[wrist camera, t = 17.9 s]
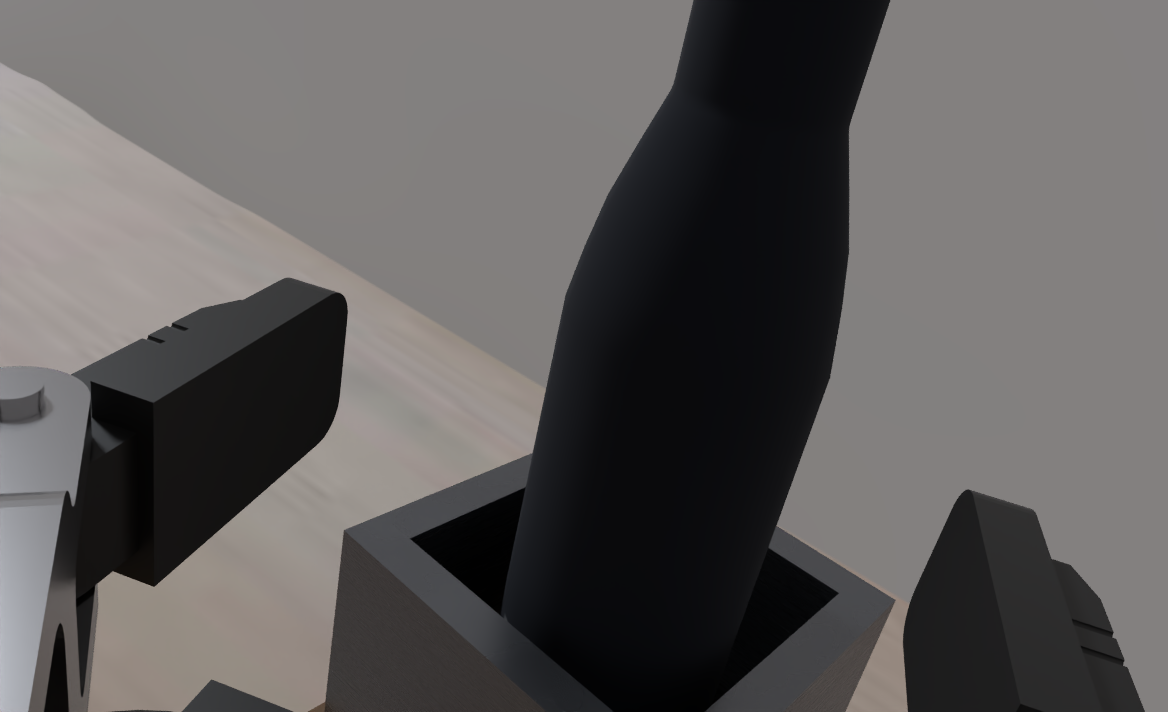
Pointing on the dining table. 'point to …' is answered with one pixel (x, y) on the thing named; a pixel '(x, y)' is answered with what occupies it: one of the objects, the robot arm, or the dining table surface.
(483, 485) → the bottle sleeve
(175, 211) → the dining table surface
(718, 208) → the wine bottle
